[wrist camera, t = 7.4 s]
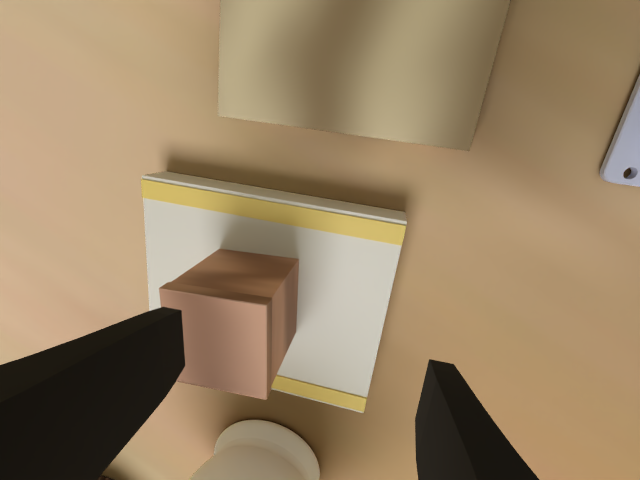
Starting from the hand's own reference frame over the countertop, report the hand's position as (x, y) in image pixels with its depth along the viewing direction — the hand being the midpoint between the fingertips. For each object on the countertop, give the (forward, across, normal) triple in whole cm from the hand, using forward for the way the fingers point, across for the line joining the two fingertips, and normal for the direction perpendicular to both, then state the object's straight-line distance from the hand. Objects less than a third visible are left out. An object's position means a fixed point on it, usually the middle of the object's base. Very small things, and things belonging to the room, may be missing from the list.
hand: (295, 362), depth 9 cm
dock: (+10, +4, +3) cm, 11 cm away
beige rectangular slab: (+10, +1, -11) cm, 15 cm away
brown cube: (+8, +4, +3) cm, 9 cm away
